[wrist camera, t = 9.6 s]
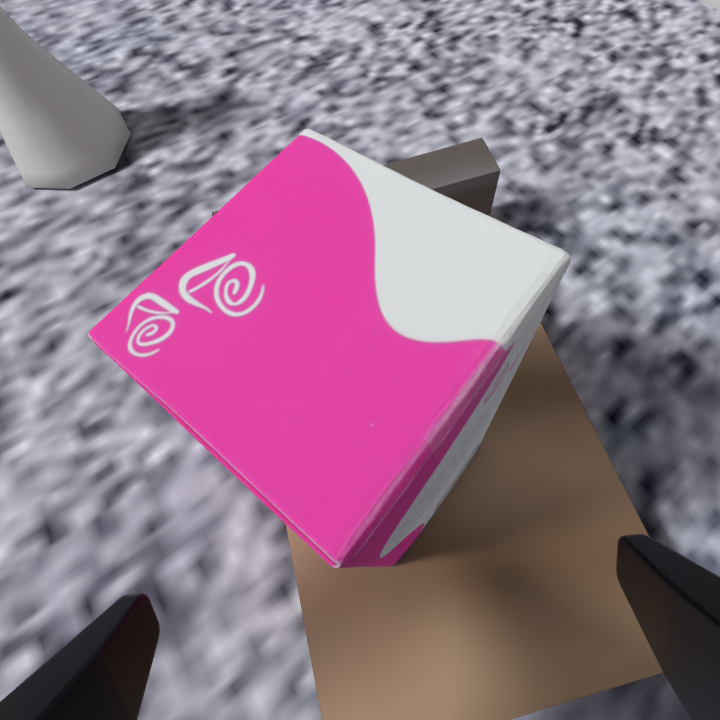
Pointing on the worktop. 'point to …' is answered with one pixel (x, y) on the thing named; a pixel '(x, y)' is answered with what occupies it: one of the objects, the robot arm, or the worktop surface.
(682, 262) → the worktop surface
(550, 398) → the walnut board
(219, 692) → the worktop surface
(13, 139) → the flask
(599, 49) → the worktop surface
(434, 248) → the supplement box
